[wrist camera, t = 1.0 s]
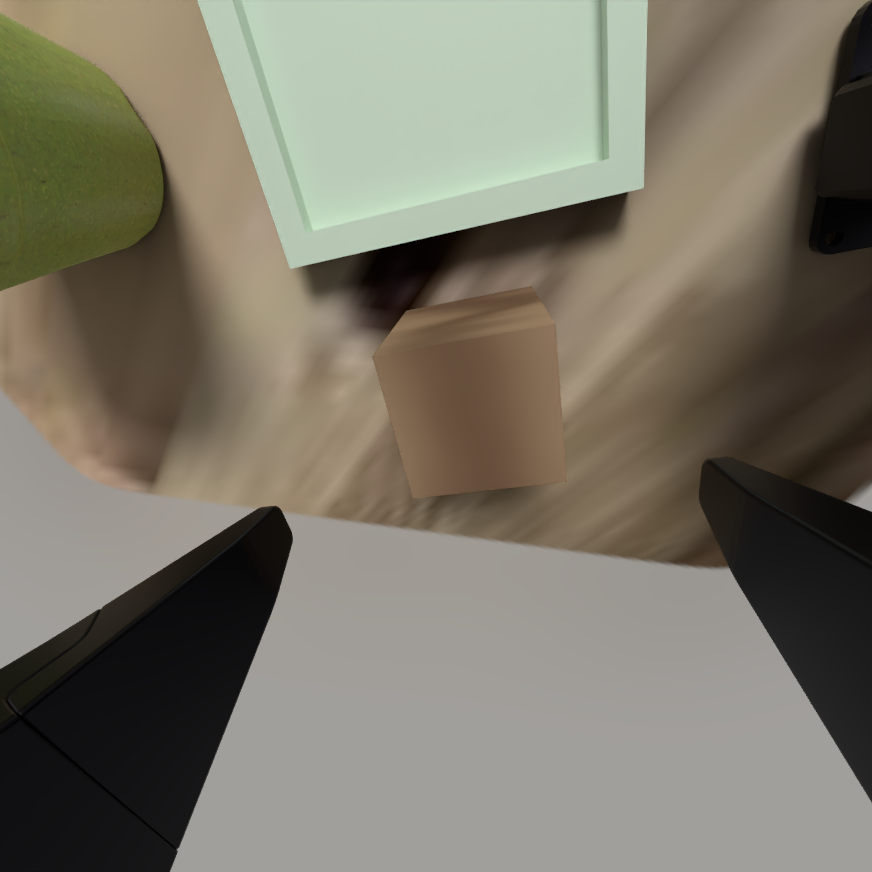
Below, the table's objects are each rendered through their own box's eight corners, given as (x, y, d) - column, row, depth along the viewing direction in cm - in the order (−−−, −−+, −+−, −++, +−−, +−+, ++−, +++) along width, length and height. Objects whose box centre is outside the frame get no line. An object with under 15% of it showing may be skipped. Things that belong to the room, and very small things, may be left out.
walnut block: (531, 285, 16) (555, 323, 11) (542, 403, 18) (566, 481, 13) (406, 310, 17) (372, 356, 12) (432, 419, 19) (413, 498, 14)
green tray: (632, -463, 9) (658, -583, 7) (628, 190, 14) (643, 188, 13) (147, -219, 11) (101, -277, 10) (305, 264, 16) (290, 268, 15)
